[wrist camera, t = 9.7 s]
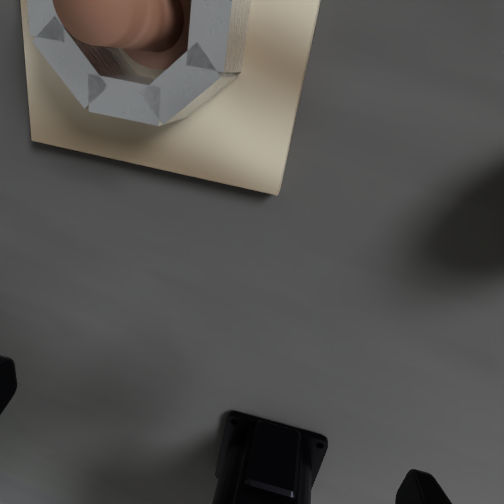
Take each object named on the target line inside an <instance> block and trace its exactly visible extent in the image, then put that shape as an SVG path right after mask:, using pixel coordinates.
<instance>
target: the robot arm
mask: <svg viewBox="0 0 504 504" xmlns="http://www.w3.org/2000/svg"><path fill="white" fill-rule="evenodd" d="M16 388H17V379H16V371H15V364H14V361H13V360H12V359H11V358H8V357H4V356H1V355H0V415H1V413H2V412H3V410H4V409H5V407H6V406H7V404H8V403H9V401H10V400H11V398H12V397H13V395H14V394H15V391H16ZM234 419H235V420H234ZM327 448H328V440H327V438H326V437H325V436H323V435H320V434H317V433H313V432H309V431H306V430H302V429H298V428H295V427H291V426H287V425H284V424H280V423H276V422H273V421H269V420H265V419H262V418H258V417H254V416H251V415H247V414H243V413H240V412H235V411H233V412H230V413H229V414H228V417H227V420H226V425H225V430H224V435H223V440H222V445H221V449H220V454H219V459H218V464H217V469H216V474H215V476H216V478H217V479H219V480H218V484H217V488H216V491H215V495H214V499H213V503H212V504H311V489H312V486H313V484H314V481H315V479H316V476H317V474H318V471H319V469H320V466H321V463H322V461H323V458H324V456H325V453H326V451H327ZM395 504H452V503H451V501H450V500H449V498H448V497H447V496H446V494H445V493H444V491H443V490H442V488H441V487H440V485H439V484H438V482H437V481H436V479H435V478H434V477H433V476H432V475H431V474H429V473H427V472H423V471H419V470H416V469H411V470H409V472H408V473H407V475H406V477H405V479H404V480H403V482H402V484H401V486H400V488H399V489H398V491H397V494H396V501H395Z"/></svg>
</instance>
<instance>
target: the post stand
mask: <svg viewBox="0 0 504 504" xmlns="http://www.w3.org/2000/svg"><path fill="white" fill-rule="evenodd" d="M20 1H21V14H22V26H23V39H24V51H25V64H26V76H27V88H28V101H29V113H30V126H31V138H32V141H35V142H40V143H44V144H49V145H53V146H58V147H62V148H67V149H71V150H76V151H80V152H85V153H89V154H94V155H98V156H103V157H107V158H112V159H116V160H121V161H125V162H130V163H134V164H138V165H143V166H147V167H152V168H156V169H161V170H165V171H170V172H174V173H179V174H183V175H188V176H192V177H197V178H201V179H206V180H210V181H215V182H219V183H224V184H228V185H233V186H237V187H242V188H246V189H251V190H255V191H260V192H264V193H269V194H273V195H277V196H278V194H279V191H280V188H281V184H282V179H283V174H284V170H285V165H286V160H287V156H288V151H289V146H290V141H291V137H292V132H293V127H294V123H295V118H296V113H297V109H298V104H299V99H300V95H301V90H302V85H303V81H304V76H305V71H306V66H307V62H308V57H309V52H310V48H311V43H312V38H313V34H314V29H315V24H316V20H317V15H318V10H319V5H320V1H321V0H252V1H251V8H250V15H249V22H248V29H247V36H246V44H245V51H244V58H243V65H242V72H237V74H238V75H239V77H238V78H237V79H235V80H234V81H233V82H232V83H230V84H229V85H228V86H227V87H225V88H224V89H223V90H222V91H220V92H219V93H218V94H217V95H215V96H214V97H213V98H212V99H210V100H209V101H208V102H207V103H205V104H204V105H203V106H202V107H201V108H199V109H198V110H197V111H196V112H194V113H193V114H192V115H191V116H189V117H186V118H183V119H180V120H177V121H174V122H171V123H167V124H164V125H160V126H156V125H151V124H146V123H142V122H137V121H132V120H127V119H122V118H117V117H112V116H107V115H103V114H98V113H93V112H89V108H86V109H84V108H83V106H82V105H81V104H80V102H79V101H78V100H77V99H76V97H75V96H74V95H73V93H72V92H71V91H70V90H69V88H68V87H67V86H66V84H65V83H64V82H63V81H62V79H61V78H60V77H59V75H58V74H57V73H56V72H55V70H54V69H53V68H52V66H51V65H50V64H49V63H48V61H47V60H46V59H45V57H44V56H43V55H42V54H41V52H40V51H39V50H38V48H37V47H36V46H35V45H34V43H33V42H32V41H33V40H34V38H35V36H30V33H29V21H28V8H27V0H20ZM52 1H53V5H54V8H55V11H56V13H57V16H58V17H59V19H60V21H61V23H62V24H63V26H64V27H65V28H66V29H67V31H68V32H69V33H70V34H71V35H72V36H74V37H75V38H76V39H78V40H80V41H81V42H84V43H86V44H89V45H95V46H104V47H113V48H118V49H119V51H120V52H121V53H122V55H123V56H124V58H125V59H126V60H127V62H128V63H129V64H130V66H131V67H132V69H133V70H134V71H135V73H136V74H137V75H140V76H145V77H150V78H157V77H159V76H160V75H161V74H162V73H163V72H164V71H165V70H166V69H168V68H169V67H170V66H171V65H172V64H173V63H174V62H175V61H176V60H178V59H179V58H180V57H181V56H182V55H183V54H184V53H185V52H187V50H188V38H189V26H190V13H191V1H192V0H52Z"/></svg>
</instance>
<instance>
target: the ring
mask: <svg viewBox="0 0 504 504" xmlns="http://www.w3.org/2000/svg"><path fill="white" fill-rule="evenodd" d="M251 1H252V0H192V1H191V13H190V26H189V38H188V50H187V52H185V53H184V54H183V55H182V56H181V57H180V58H179V59H178V60H176V61H175V62H174V63H173V64H172V65H171V66H170V67H169V68H168V69H166V70H165V71H164V72H163V73H162V74H161V75H160V76H159V77H157V78H150V77H145V76H140V75H137V74H136V73H135V71H134V70H133V69H132V67H131V66H130V64H129V63H128V62H127V60H126V59H125V58H124V56H123V55H122V53H121V52H120V51H119V49H118V48H113V47H104V46H95V45H89V44H86V43H84V42H81V41H80V40H78V39H76V38H75V37H74V36H72V35H71V34H70V33H69V32H68V31H67V29H66V28H65V27H64V26H63V24H62V23H61V21H60V19H59V17H58V16H57V13H56V11H55V8H54V5H53V1H52V0H27V8H28V21H29V33H30V36H35V38H34V40H33V41H32V42H33V43H34V45H35V46H36V47H37V48H38V50H39V51H40V52H41V54H42V55H43V56H44V57H45V59H46V60H47V61H48V63H49V64H50V65H51V66H52V68H53V69H54V70H55V72H56V73H57V74H58V75H59V77H60V78H61V79H62V81H63V82H64V83H65V84H66V86H67V87H68V88H69V90H70V91H71V92H72V93H73V95H74V96H75V97H76V99H77V100H78V101H79V102H80V104H81V105H82V106H83V108H84V109H86V108H89V112H93V113H98V114H103V115H107V116H112V117H117V118H122V119H127V120H132V121H137V122H142V123H146V124H151V125H156V126H160V125H164V124H167V123H171V122H174V121H177V120H180V119H183V118H186V117H189V116H191V115H192V114H193V113H194V112H196V111H197V110H198V109H199V108H201V107H202V106H203V105H204V104H205V103H207V102H208V101H209V100H210V99H212V98H213V97H214V96H215V95H217V94H218V93H219V92H220V91H222V90H223V89H224V88H225V87H227V86H228V85H229V84H230V83H232V82H233V81H234V80H235V79H237V78H238V77H239V75H238V74H237V72H242V65H243V58H244V51H245V44H246V36H247V29H248V22H249V15H250V8H251Z"/></svg>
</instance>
